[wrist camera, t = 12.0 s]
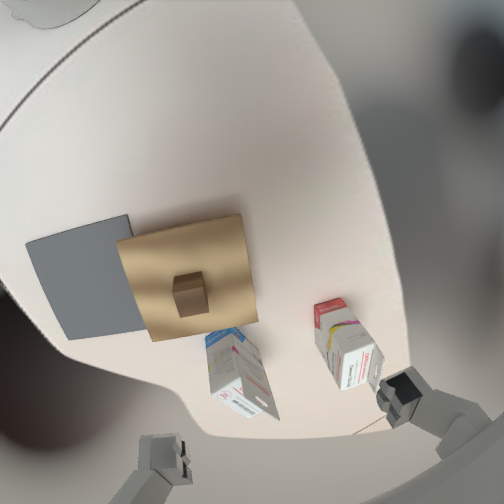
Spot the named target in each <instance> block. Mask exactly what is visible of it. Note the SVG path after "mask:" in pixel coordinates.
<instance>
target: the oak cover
mask: <svg viewBox="0 0 504 504" xmlns="http://www.w3.org/2000/svg"><path fill="white" fill-rule="evenodd" d="M116 246H117V249H118V252H119V255H120V258H121V261H122V264H123V267H124V270H125V273H126V276H127V279H128V281H129V284H130V287H131V290H132V292H133V295H134V298H135V300H136V303H137V306H138V308H139V311H140V313H141V316H142V318H143V321H144V323H145V325H146V328H147V330H148V333H149V335H150V337H151V339H152V342H157V341H163V340H169V339H175V338H181V337H186V336H192V335H197V334H202V333H208V332H213V331H218V330H223V329H227V328H232V327H237V326H242V325H246V324H251V323H255V322H259V321H258V315H257V309H256V303H255V297H254V291H253V285H252V279H251V272H250V266H249V260H248V254H247V248H246V242H245V236H244V229H243V223H242V217H241V214H235V215H230V216H225V217H220V218H215V219H210V220H205V221H200V222H196V223H191V224H186V225H181V226H177V227H172V228H168V229H163V230H158V231H154V232H150V233H145V234H141V235H136V236H132V237H128V238H124V239H119V240H117V241H116Z"/></svg>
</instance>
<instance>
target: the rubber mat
mask: <svg viewBox="0 0 504 504" xmlns="http://www.w3.org/2000/svg"><path fill="white" fill-rule="evenodd" d="M132 236H133V234H132V230H131V227H130V223H129V219H128V216H127V215H123V216H119V217H115V218H111V219H107V220H104V221H100V222H96V223H93V224H89V225H85V226H82V227H78V228H75V229H71V230H68V231H64V232H61V233H58V234H54V235H51V236H48V237H44V238H41V239H38V240H35V241H32V242H29V243H26V244H25V245H26V248H27V251H28V254H29V256H30V259H31V262H32V264H33V267H34V269H35V272H36V274H37V277H38V279H39V281H40V284H41V286H42V288H43V290H44V293H45V295H46V297H47V299H48V301H49V303H50V306H51V308H52V310H53V312H54V314H55V316H56V318H57V320H58V322H59V323H60V325H61V327H62V329H63V331H64V333H65V335H66V337H67V338H68V340H76V339H84V338H91V337H99V336H106V335H113V334H119V333H126V332H132V331H138V330H145V329H147V328H146V325H145V323H144V321H143V318H142V316H141V313H140V311H139V308H138V306H137V303H136V300H135V298H134V295H133V292H132V290H131V287H130V284H129V281H128V279H127V276H126V273H125V270H124V267H123V264H122V261H121V258H120V255H119V252H118V249H117V246H116V241H117V240H119V239H124V238H128V237H132Z"/></svg>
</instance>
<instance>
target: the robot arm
mask: <svg viewBox="0 0 504 504" xmlns="http://www.w3.org/2000/svg"><path fill="white" fill-rule="evenodd" d="M0 1H1V2H3V3H4V4H5V5H6V6H7V7H9V8H10V9H11V10H12V17H14V18H15V19H18V20H26V21H27V22H28V23H29V24H30V25H32V26H33V27H36V28H39V29H49V28H54V27H58V26H61V25H63V24H66V23H68V22H70V21H72V20H74V19H75V18H77V17H79V16H80V15H82V14H83V13H84V12H86V11H87V10H88V9H90V8H91V7H92V6H93V5H94V4H95V3H96V2H97V1H98V0H0ZM379 386H380V389H379V390H378V391H377V395H376V398H377V403H378V406H379V408H380V409H381V411H383V412H386V413H387V415H386V419H387V420H388V422H389V424H390V425H391V427H392V428H393V429H394V428H396V427H398V426H401V425H403V424H405V423H407V422H409V421H410V423H412V424H414V425H416V426H418V427H420V428H421V429H423V430H425V431H427V432H429V433H431V434H433V435H435V436H438V437H439V438H441V441H440V442H439V444H438V445H437V446H436V451H437V453H438V455H439V456H440V458H441V459H442V461H440V462H439V463H437V464H435V465H434V466H432V467H431V468H429V469H427V470H426V471H424V472H422V473H421V474H419V475H417V476H415V477H414V478H412V479H410V480H408V481H406V482H404V483H402V484H400V485H399V486H397V487H395V488H393V489H391V490H389V491H386V492H384V493H382V494H380V495H378V496H376V497H373V498H371V499H369V500H367V501H364V502H362V503H360V504H504V412H503V413H502V414H501V415H500V416H499V417H498V418H497V419H496V420H494V421H493V422H492V421H491V419H490V418H489V417H488V415H487V414H486V413H485V412H484V411H483V409H482V408H481V407H480V406H479V405H478V403H475V402H471V401H469V400H465V399H463V398H460V397H457V396H454V395H451V394H448V393H445V392H442V391H440V390H437V389H435V390H432V388H431V387H430V386H429V385H428V384H427V382H426V381H425V380H424V379H423V378H422V376H421V375H420V374H419V373H418V372H417V370H416V369H415V368H414V367H412V366H411V367H408V368H406V369H404V370H402V371H399V372H397V373H395V374H393V375H390V376H388V377H386V378H384V379H382V380H381V381H380V383H379ZM190 461H191V459H190V453H189V448H188V446H187V444H186V443H185V442H184V441H182V440H181V436H180V434H179V433H169V434H156V435H154V434H153V435H141V437H140V441H139V457H138V470H134V471H133V473H132V474H131V475H130V477H129V478H128V479H127V480H126V482H125V483H124V484H123V486H122V487H121V488H120V490H119V491H118V492H117V493H116V495H115V496H114V497H113V498H112V500H111V501H110V502H109V503H108V504H164V502H165V501H166V499H167V497H168V495H169V493H170V492H171V490H172V488H173V486H177V485H188V484H193V482H192V471H191V469H190V468H189V467H188V465H189V463H190Z"/></svg>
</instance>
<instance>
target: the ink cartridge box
mask: <svg viewBox="0 0 504 504" xmlns="http://www.w3.org/2000/svg"><path fill="white" fill-rule="evenodd" d="M314 315H315V344H316V345H317V347H318V349H319V351H320V353H321V355H322V357H323V358H324V360H325V362H326V364H327V366H328V368H329V370H330V372H331V374H332V376H333V377H334V379H335V381H336V383H337V385H338V387H339V389H340V391H344V390H347V389H350V388H352V387H355V386H357V385H360V384H362V383H365V382H367V381H368V382H369V384H370V386H371V388H372V390H373V392H374V394H376V393H377V389H378V386H379V382H380V378H381V375H382V370H383V366H384V362H385V359H384V356H383V354H382V353H381V351H380V349H379V348H378V346H377V345H376V342H375V341H374V340H373V338H372V337H371V336H370V334H369V333H368V332H367V331H366V329H365V328H364V327H363V326H362V324H361V323H360V322H359V321H358V319H357V318H356V317H355V316H354V314H353V313H352V312H351V311H350V309H349V308H348V307H347V306H346V304H345V303H344V302H343V301H342V299H341V298H339V299H335V300H332V301H328V302H325V303H321V304H318V305H314ZM376 365H377V366H378V369H377V375H376V378H375V377H374V374H375V369H376Z"/></svg>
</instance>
